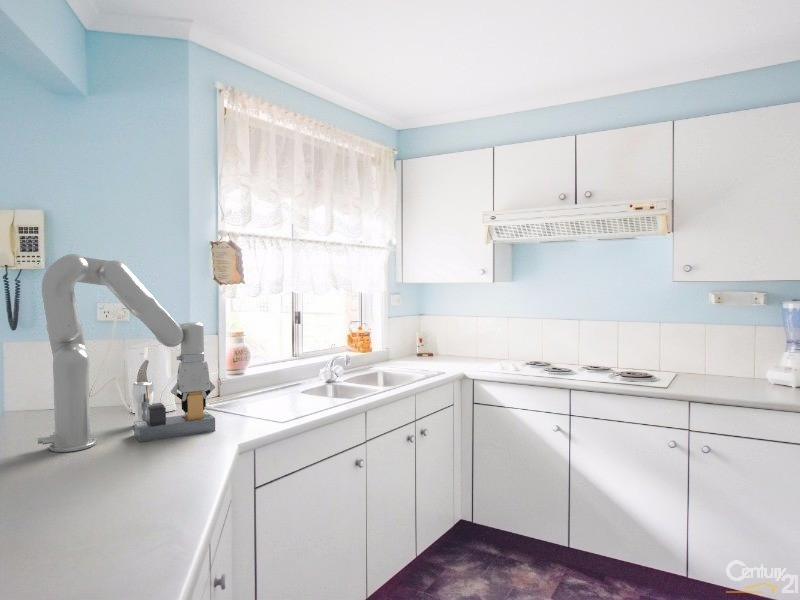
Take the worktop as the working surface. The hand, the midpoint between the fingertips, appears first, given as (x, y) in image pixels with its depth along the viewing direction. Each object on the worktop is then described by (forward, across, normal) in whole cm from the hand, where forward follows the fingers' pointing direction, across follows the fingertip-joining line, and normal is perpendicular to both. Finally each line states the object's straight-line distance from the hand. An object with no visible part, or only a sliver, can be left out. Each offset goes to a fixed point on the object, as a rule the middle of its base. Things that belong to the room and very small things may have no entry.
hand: (193, 409), depth 193 cm
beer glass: (+7, -13, +17) cm, 23 cm away
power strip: (+7, -6, 0) cm, 9 cm away
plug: (+3, 0, 0) cm, 3 cm away
